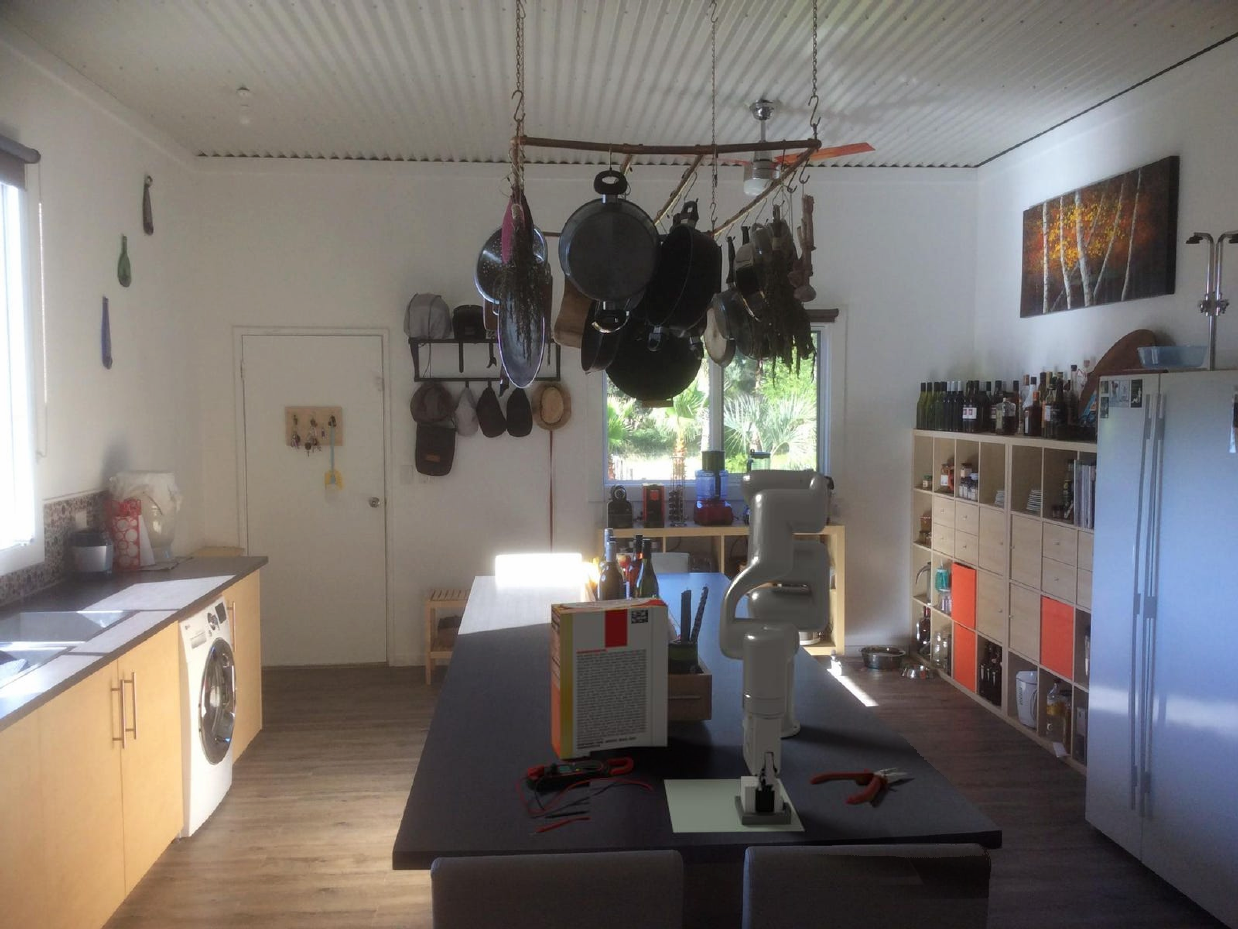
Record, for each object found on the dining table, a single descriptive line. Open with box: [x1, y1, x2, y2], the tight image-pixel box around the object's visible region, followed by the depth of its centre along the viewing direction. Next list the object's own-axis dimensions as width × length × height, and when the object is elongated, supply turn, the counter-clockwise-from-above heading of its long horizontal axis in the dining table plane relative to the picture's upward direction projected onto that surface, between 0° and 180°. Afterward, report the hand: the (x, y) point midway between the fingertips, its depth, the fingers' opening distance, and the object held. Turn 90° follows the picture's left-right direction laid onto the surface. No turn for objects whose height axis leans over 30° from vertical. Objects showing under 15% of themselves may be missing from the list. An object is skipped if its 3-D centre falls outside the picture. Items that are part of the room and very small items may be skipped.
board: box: [663, 778, 805, 834], centre depth 158 cm, size 20×22×2 cm
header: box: [735, 796, 791, 825], centre depth 154 cm, size 8×9×2 cm
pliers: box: [808, 767, 911, 805], centre depth 168 cm, size 12×20×3 cm, turn 120°
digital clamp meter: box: [516, 756, 654, 836], centre depth 164 cm, size 23×4×25 cm
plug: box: [740, 775, 783, 813], centre depth 154 cm, size 4×7×6 cm, turn 92°
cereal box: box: [550, 596, 669, 761], centre depth 185 cm, size 23×8×30 cm, turn 107°
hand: (762, 805), depth 154 cm, fingers closed on plug, 3 cm apart
